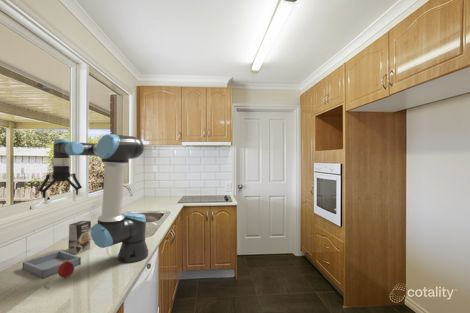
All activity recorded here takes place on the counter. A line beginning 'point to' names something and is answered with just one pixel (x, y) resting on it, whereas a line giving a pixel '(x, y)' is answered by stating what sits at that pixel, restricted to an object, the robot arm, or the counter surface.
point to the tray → (49, 263)
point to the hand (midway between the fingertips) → (60, 202)
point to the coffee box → (79, 237)
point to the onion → (65, 269)
